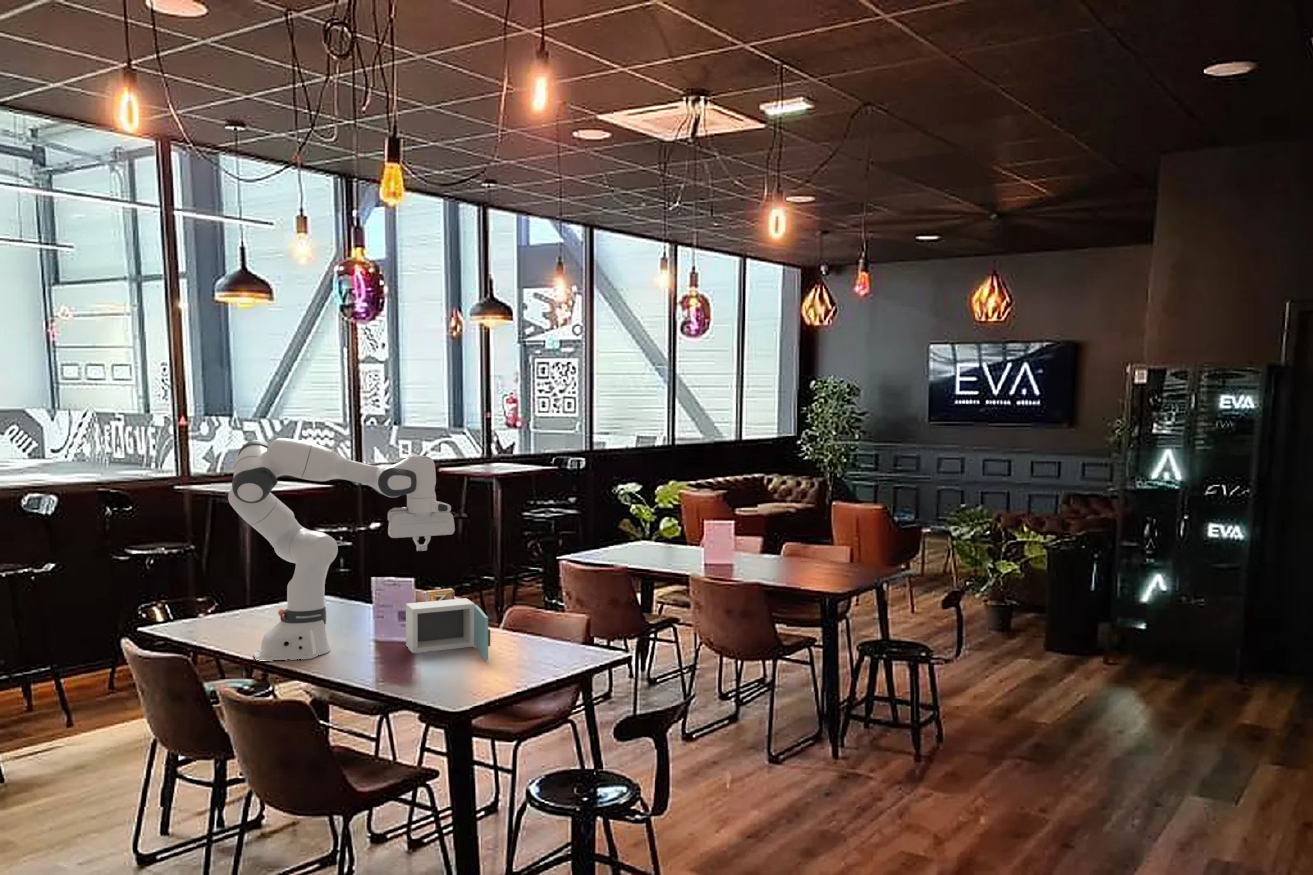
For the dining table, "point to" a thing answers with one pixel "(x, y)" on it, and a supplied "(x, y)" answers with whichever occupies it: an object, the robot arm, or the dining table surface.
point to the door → (481, 632)
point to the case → (439, 625)
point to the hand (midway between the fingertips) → (421, 550)
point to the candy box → (440, 595)
